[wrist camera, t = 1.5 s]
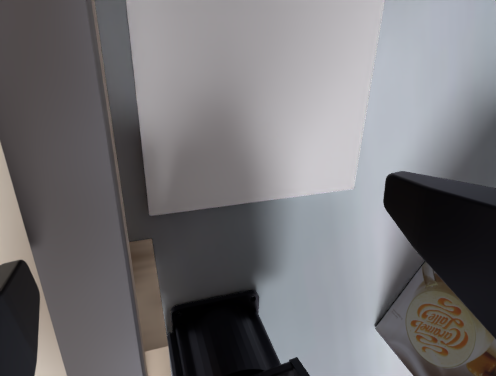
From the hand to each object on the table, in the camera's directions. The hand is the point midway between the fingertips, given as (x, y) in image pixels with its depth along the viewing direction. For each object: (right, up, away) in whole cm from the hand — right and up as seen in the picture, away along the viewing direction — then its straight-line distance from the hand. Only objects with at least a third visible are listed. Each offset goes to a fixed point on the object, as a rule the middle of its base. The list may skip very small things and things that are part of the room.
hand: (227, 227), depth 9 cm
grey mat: (+1, +9, +11) cm, 15 cm away
